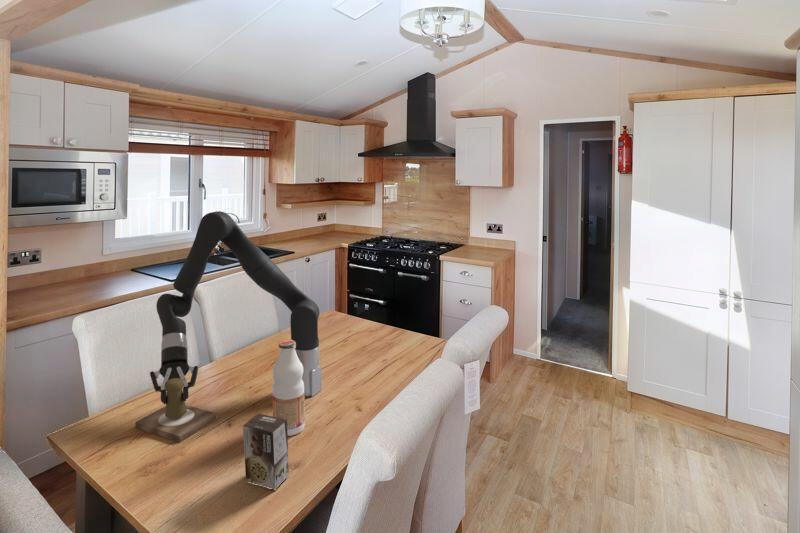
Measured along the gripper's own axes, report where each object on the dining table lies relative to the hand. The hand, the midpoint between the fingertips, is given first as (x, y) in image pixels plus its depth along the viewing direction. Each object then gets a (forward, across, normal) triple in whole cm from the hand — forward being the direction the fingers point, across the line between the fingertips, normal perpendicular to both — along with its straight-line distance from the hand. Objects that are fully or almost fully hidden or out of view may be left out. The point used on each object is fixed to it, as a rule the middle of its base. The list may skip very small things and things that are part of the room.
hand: (174, 401), depth 136 cm
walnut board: (+5, 0, +7) cm, 8 cm away
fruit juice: (+15, +32, -3) cm, 35 cm away
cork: (+2, 0, +5) cm, 5 cm away
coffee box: (+31, +23, -19) cm, 43 cm away
